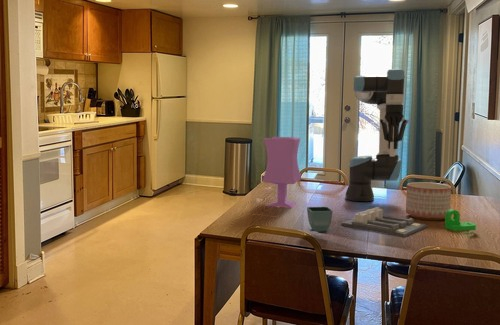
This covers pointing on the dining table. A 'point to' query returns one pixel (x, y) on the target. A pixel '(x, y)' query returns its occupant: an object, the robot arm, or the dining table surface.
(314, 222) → the flower pot
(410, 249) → the dining table surface
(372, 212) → the tab middle
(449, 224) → the mechanical part
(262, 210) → the dining table surface
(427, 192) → the planter
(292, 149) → the purple table lamp
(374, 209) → the tab far
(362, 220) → the tab near
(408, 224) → the switch board
